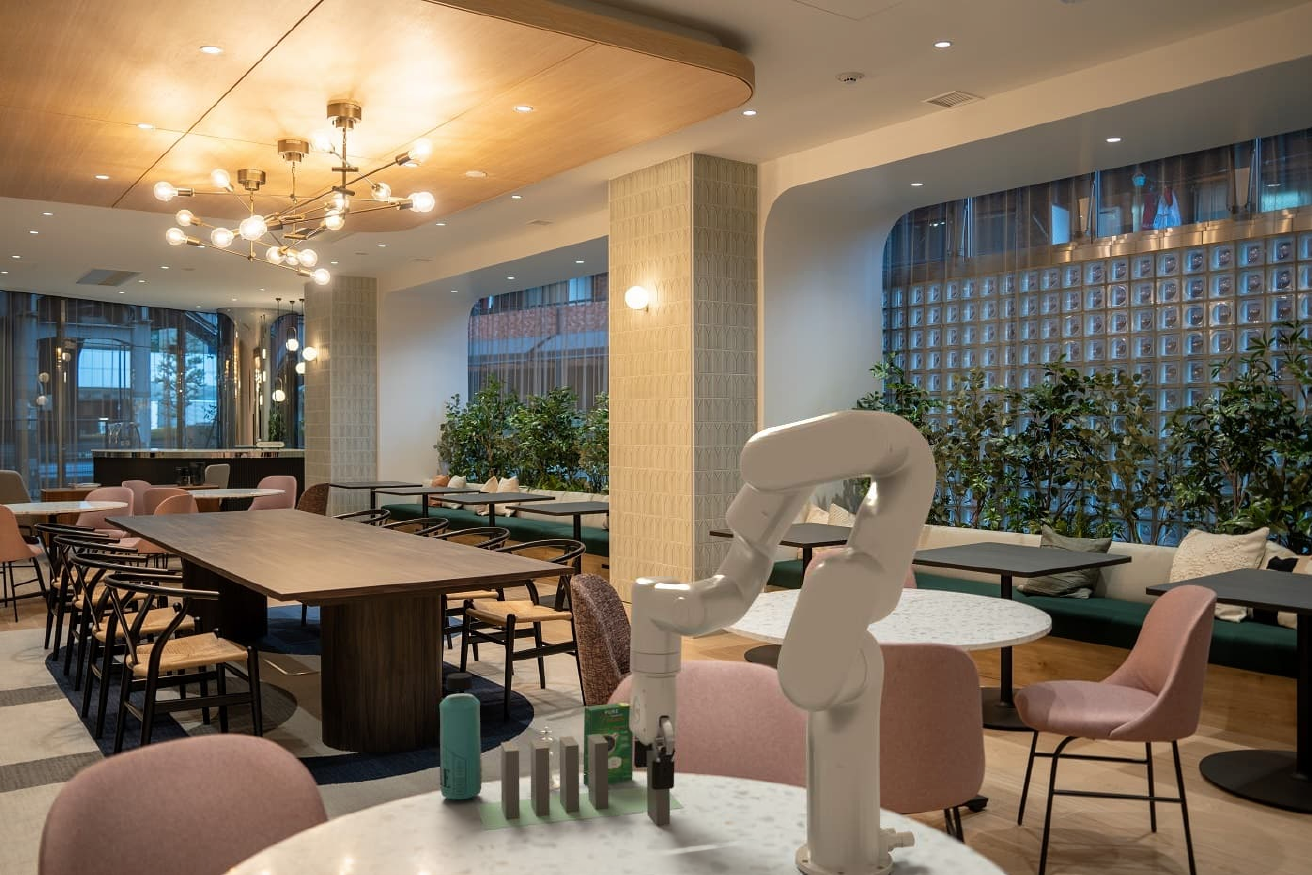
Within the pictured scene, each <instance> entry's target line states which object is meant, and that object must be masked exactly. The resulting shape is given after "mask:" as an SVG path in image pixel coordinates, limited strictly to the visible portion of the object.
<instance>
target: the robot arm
mask: <svg viewBox="0 0 1312 875" xmlns="http://www.w3.org/2000/svg"><path fill="white" fill-rule="evenodd" d="M739 472H740V475H741V477H742V479H743V481H744V484H743V486H742V487H741V488H740V490H739V492H738V493H737V495H736V496H735V499H733V501H732V502H731V504H730V505H729V507H728V509H727V511H726V513H725V523H726V525H727V527H728V529H729V530H730V532H732V534H733V540H732V543H731V546H730V549H729V551H728V553H727V555H726V556H725V558H724V560H723V561H722V563H721V565H720V566H719V568H718V569H717V571H716V572H715V574H714V575H713V576H712V577H709V578H706V579H701V580H697V581H693V582H688V583H681V582H680V581H679V580H678V579H676V578H674V577H669V576H659V575H654V576H651V575H649V576H643V577H639V578H637V579H636V580H634V581H633V583H632V585H631V597H630V598H631V600H630V601H631V602H630V606H631V608H630V646H629V647H630V650H629V651H630V653H629V654H630V658H629V671H630V673H631V674H632V677H631V686H630V687H631V688H630V696H629V697H630V701H629V704H630V713H629V728H630V730H631V731H632V733H633V737H634V740H633V741H634V742H633V743H634V744H633V745H634V746H633V747H634V748H633V750H634V751H633V754H634V755H633V758H634V759H633V766H634V767H635V768H636V769H642V768H647V751H653V754H654V760H655V761H652V788H653V789H654V790H660V789H670V790H671V789H673V788H674V787H675V760H676V757H675V756H676V755H675V752H676V748H675V746H676V745H675V744H676V740H677V733H678V731H677V729H678V697H677V692H678V691H677V690H678V689H677V678H676V676H677V675H679V674H681V673H682V638H683V636H684V637H688V638H696V637H700V636H704V635H707V634H711V633H713V632H716V631H719V630H723V629H726V628H730V627H732V626H733V625H735V624H737V623H738V622H739V621H741V619H742V618H744V617H745V616H746V615H747V613H748V612H749V610H750V608H752V606H753V604H754V603H755V602H756V600H757V598H758V597H759V595H760V594H761V592H762V591H763V589H764V588H765V586H766V585H767V583H768V581H769V579H770V576H771V574H772V571H773V568H774V565H775V562H776V561H775V560H776V559H777V558H776V557H777V552H778V551H777V550H778V547H779V545H780V543H781V542H782V540H783V538H784V537H785V535H786V534H787V533H788V531H789V530H790V528H791V526H792V525H793V523H794V521H795V520H796V518H797V517H798V516H799V514H800V513H801V511H802V509H803V508H804V506H805V505H806V504H807V502H808V501H809V499H810V498H811V496H812V495H813V493H814V492H815V490H816V488H818V486H821V485H825V484H830V483H836V482H840V481H846V480H851V479H859V478H870V486H869V488H868V490H867V492H866V495H865V496H864V498H863V500H862V502H861V504H860V505H859V508H858V509H857V512H856V515H855V518H854V522H853V526H852V529H851V531H850V533H849V536H848V539H847V542H846V543H845V546H844V548H843V550H842V551H841V552H840V553H835V554H833V555H831V556H827V557H825V558H823V559H822V560H820V561H819V562H818V563H816V564H815V566H814V567H812V569H811V570H810V571H809V573H808V574H807V576H806V578H805V579H804V581H803V583H802V586H801V588H800V591H799V594H798V596H797V600H796V602H795V605H794V608H793V610H792V613H791V617H790V621H789V622H788V626H787V629H786V633H785V634H784V635H785V636H784V637H783V642H782V644H781V648H780V651H779V654H778V659H777V664H776V665H777V667H776V672H777V681H778V684H779V688H780V690H781V692H782V694H783V695H784V697H785V698H786V700H787V701H789V703H791V704H792V705H793V706H794V707H796V708H797V709H799V710H802V711H806V712H807V713H806V714H807V715H806V724H805V725H806V728H805V732H806V733H805V735H806V736H805V739H806V740H805V758H806V759H805V764H806V765H805V767H806V768H805V769H806V771H805V772H806V773H805V774H806V777H805V778H806V782H805V783H806V843H804V844H803V845H801V846H800V847H798V849H797V850H796V851H795V857H794V858H795V865H796V866H797V868H798V869H799V870H800V871H802V873H804V874H806V875H889V874H891V873H892V871H893V868H894V864H893V863H894V860H893V857H892V855H891V854H890V853H889V852H893V851H894V849H896V848H903V849H904V848H911V847H913V846H915V842H916V840H915V835H914V833H913V832H912V831H911V830H908V831H899V832H896V829H895V828H894V827H888V828H881V787H880V786H881V785H880V784H881V782H880V780H881V779H880V778H881V777H880V774H881V773H880V767H881V766H880V748H881V747H880V745H881V744H880V722H881V721H880V720H881V717H880V716H881V704H882V694H883V686H884V685H883V684H884V678H885V677H884V676H885V675H884V674H885V661H884V656H883V651H882V649H881V646H880V643H879V641H878V640H877V638H875V636H874V634H872V632H870V631H869V630H868V628H869V626H870V625H872V624H875V623H877V622H879V621H882V620H883V619H885V618H887V617H888V616H890V615H892V613H893V612H894V611H895V610H896V608H897V606H898V604H899V602H900V599H901V596H902V593H903V590H904V587H905V584H906V581H907V578H908V575H909V572H910V570H911V566H912V563H913V561H914V558H915V555H916V552H917V550H918V549H917V548H918V545H919V543H920V542H919V541H920V538H921V535H922V533H923V529H924V527H925V524H926V521H927V520H928V519H927V518H928V516H929V513H930V509H931V507H932V503H933V501H934V500H933V499H934V497H935V496H934V495H935V492H936V488H937V487H936V485H937V466H936V460H935V457H934V453H933V451H932V449H931V447H930V444H929V443H928V441H927V440H926V438H925V436H924V435H923V434H922V433H921V432H920V431H919V429H918V428H917V427H915V426H914V425H913V424H912V422H910V421H908V420H907V419H905V418H904V417H901V416H899V415H897V414H895V413H892V412H888V411H881V410H865V409H864V410H862V409H846V410H839V411H835V412H830V413H826V414H823V415H819V416H815V417H811V418H808V419H803V420H798V421H796V422H791V423H788V424H783V425H779V426H774V427H769V428H766V429H764V430H761V431H759V432H756V433H755V434H754V435H753V436H751V437H750V438H749V440H747V442H746V443H745V445H744V447H743V448H742V451H741V453H740V457H739ZM659 747H661V748H660V749H659ZM659 750H660V752H659Z"/></svg>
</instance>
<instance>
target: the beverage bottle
mask: <svg viewBox="0 0 1312 875" xmlns="http://www.w3.org/2000/svg"><path fill="white" fill-rule="evenodd" d="M445 683H446V684H445V690H448V691H450V692H453V691H454V692H459V691H460V692H461V691H468V690H472V689H473V687H474V686H473V685H474V683H473V676H472V674H471V673H464V672H460V673H459V672H458V673H456V672H455V673H451V674H448V675H447V676H446V682H445ZM480 706H481V702H480V700H479V698H477V697H476V696H475V695H474V694H471V693H453V694H449V695H447V696H446V697H445V698H443V700H442V701H440V703H439V718H440V719H439V720H440V723H439V724H440V727H439V736H438V737H439V742H440V743H439V744H440V748H439V749H440V752H439V754H440V756H439V760H440V763H439V765H440V766H439V781H440V782H439V787H440V790H439V791H440V792H441V795H442V796H443V797H444V798H446V799H450V800H451V799H452V800H464V799H470V798H473V797H476V796H478V795H479V794H480V793H481V790H482V786H483V783H482V780H483V769H482V768H483V767H482V766H483V765H482V762H483V761H482V754H483V753H482V746H481V745H482V744H481V722H480V721H481V717H480V716H481V715H480V712H481V711H480V708H481V707H480Z"/></svg>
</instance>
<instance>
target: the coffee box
mask: <svg viewBox="0 0 1312 875" xmlns="http://www.w3.org/2000/svg"><path fill="white" fill-rule="evenodd" d="M583 709H584V711H583V712H584V714H583V716H584V717H583V718H584V724H583V774H585V775H583V785H585V786H586V787H588V735H593V734H601V735H602V736H603V737H604V738H605V740H606V741H607V742H608V786H609V785H614V784H620V783H624V782H625V783H626V782H631V781H633V775H634V774H633V773H634V772H633V758H634V755H633V754H634V751H633V750H634V748H633V747H634V746H633V745H634V744H633V743H634V742H633V741H634V740H633V738H634V734H633V733H632V731H631V730H630V728H629V713H630V702H626V701H623V702H616V703H609V704H600V705H590V706H589V705H588V706H584V708H583Z"/></svg>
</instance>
